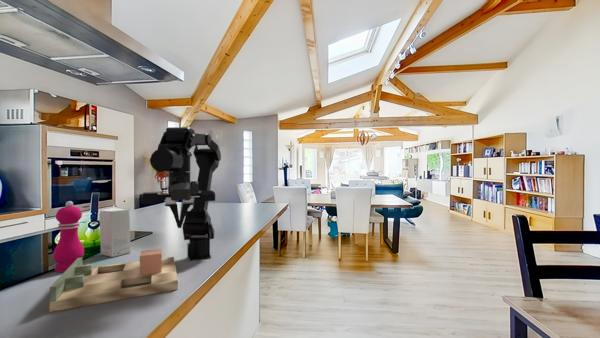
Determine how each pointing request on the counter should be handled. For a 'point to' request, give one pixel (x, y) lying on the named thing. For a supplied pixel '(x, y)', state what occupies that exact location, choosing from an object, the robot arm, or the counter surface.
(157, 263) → the block
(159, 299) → the counter surface
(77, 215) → the pepper mill
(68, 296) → the board
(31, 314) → the counter surface
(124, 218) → the skincare box
